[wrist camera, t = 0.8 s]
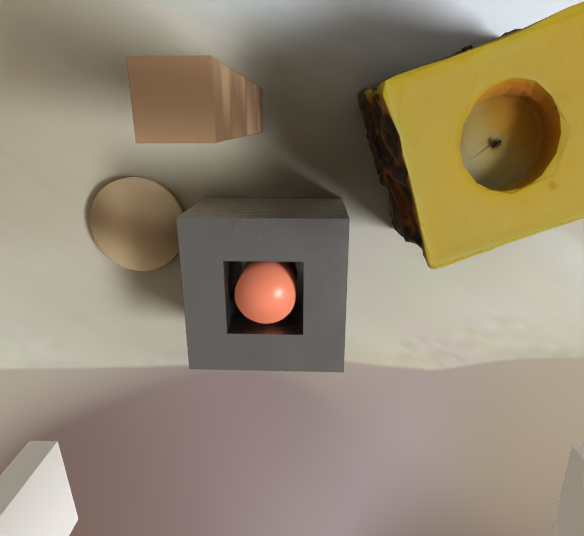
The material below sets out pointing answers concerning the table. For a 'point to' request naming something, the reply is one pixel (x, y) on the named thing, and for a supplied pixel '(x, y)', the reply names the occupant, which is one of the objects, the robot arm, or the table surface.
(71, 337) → the table surface
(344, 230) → the box
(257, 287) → the orange ball
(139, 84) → the dowel
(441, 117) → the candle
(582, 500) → the robot arm
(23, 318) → the table surface
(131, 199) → the coaster
